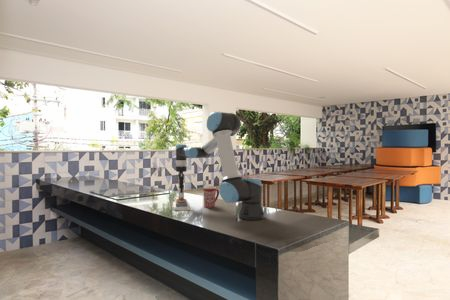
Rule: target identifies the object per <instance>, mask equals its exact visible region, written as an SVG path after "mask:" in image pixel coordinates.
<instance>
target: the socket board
mask: <svg viewBox="0 0 450 300" xmlns="http://www.w3.org/2000/svg"><path fill="white" fill-rule="evenodd" d="M172 207H173V208H172V209H173V211H191V204H190V202H189V200H187V198H184V200H183V201H178V198H176V199H175V201H172Z"/></svg>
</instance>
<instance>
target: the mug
mask: <svg viewBox="0 0 450 300" xmlns="http://www.w3.org/2000/svg"><path fill="white" fill-rule="evenodd" d="M202 189H203V205H204V208H208V209H211V208H215V206H216V202H217V200H218V198H219V195H220V191H219V189H217V187H215V186H204V187H203V188H202Z"/></svg>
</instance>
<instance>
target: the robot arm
mask: <svg viewBox="0 0 450 300" xmlns="http://www.w3.org/2000/svg"><path fill="white" fill-rule="evenodd" d="M241 121H242V120H241V118H240V117H239V116H238V114H235V113H233V112H223V111H213V112H211V113H210V114H209V116H208V118H207V119H206V128H207V130H208V131H209V132H211V133H212V134H211V135H212V137H211V138H210V139H209V140H208V141H207V142H206V143H205V144H204V145H202V146H201V147H200V146H198V147H197V146H195V147H193V146H189V147H188V146H187V144H186V143H185V144H182V143H181V144H179V143H178V144H176V145H175V161H174V162H175V172H177V173H178V175H177V176H178V197H183V187H184V188H185V185H184V180H185V179H184V178H185V174H184V173H185V172H187V171H188V170H187V168H188V167H187V163H188V161H187V159H208V158H211V157H212V156H213V154H214V151H215V150H216V149H217V151H218V155H219V161H220V165H221V169H222V175H223V178H222V180H221V184H220V186H219V189H218V190H219V195H220V197H221V199H222V200H223V201H224V202H225V203H228V204H230V203H231V204H234V203H239V202H241V205H240V209H239V213H238V218H239V219H241V220H246V221H260V220H264V219H265V212H264V208H263V206H262V192H263V191H262V188H263V186H262V181H261V180H260V179H257V178H247V177H242V175H240V174H239V171H238V166H237V162H236V156H235V151H234V147H233V142H232V137H233V136H235V135H236V134H237V133H238V132H239V131H240V129H241V126H242V122H241ZM179 186H180V187H179Z"/></svg>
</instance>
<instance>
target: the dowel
mask: <svg viewBox="0 0 450 300" xmlns="http://www.w3.org/2000/svg"><path fill="white" fill-rule="evenodd" d="M179 187H180V185H178V188H179ZM177 199H178V201H183V200H184V199H185V186H184V187H183V197H179V196H178V198H177Z"/></svg>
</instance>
